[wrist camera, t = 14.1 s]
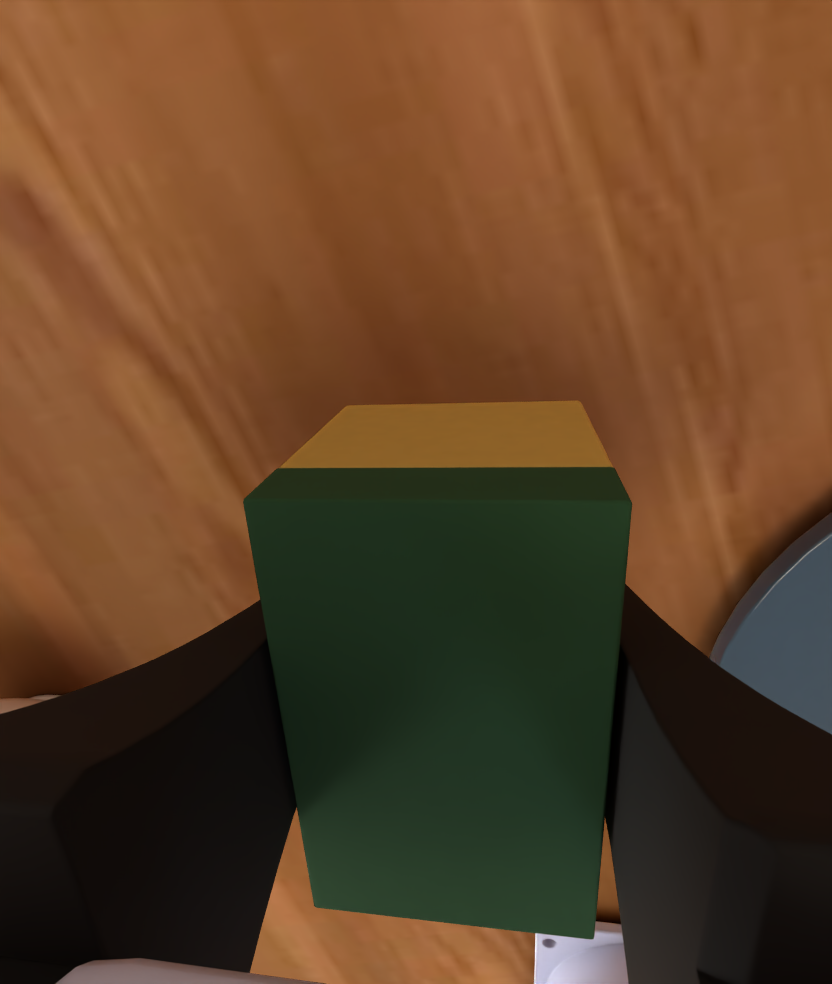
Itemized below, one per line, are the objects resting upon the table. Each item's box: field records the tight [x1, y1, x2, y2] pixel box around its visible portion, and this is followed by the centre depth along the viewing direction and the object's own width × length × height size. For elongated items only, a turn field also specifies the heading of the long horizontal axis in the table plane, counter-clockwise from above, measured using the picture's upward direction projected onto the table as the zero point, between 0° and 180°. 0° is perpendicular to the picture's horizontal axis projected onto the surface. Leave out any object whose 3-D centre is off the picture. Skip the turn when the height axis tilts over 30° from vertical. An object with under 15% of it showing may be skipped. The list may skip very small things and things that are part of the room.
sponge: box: [243, 401, 632, 940], centre depth 10 cm, size 8×5×5 cm, turn 3°
